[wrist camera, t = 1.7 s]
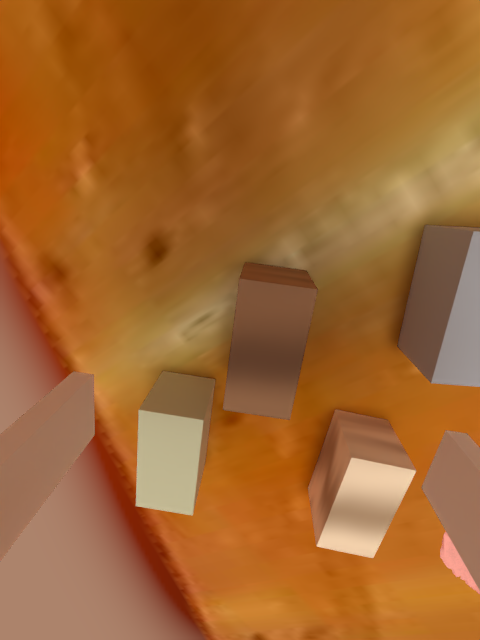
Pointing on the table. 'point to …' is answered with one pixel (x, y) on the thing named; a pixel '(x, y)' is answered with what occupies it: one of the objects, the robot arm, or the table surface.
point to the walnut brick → (268, 339)
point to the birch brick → (358, 483)
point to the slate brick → (445, 307)
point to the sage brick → (173, 442)
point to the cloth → (455, 562)
